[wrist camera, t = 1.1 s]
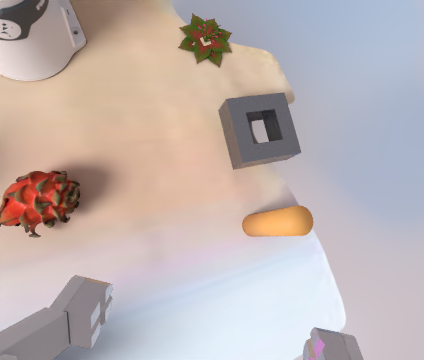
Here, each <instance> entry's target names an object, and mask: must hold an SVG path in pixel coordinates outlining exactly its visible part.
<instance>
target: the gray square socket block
mask: <svg viewBox="0 0 424 360" xmlns="http://www.w3.org/2000/svg"><path fill="white" fill-rule="evenodd" d="M218 111H219V115H220V119H221V123H222V127H223V131H224V135H225V139H226V143H227V147H228V151H229V155H230V159H231V163H232V167H233V170H234V169H239V168H244V167H250V166H255V165H260V164H266V163H271V162H276V161H281V160H287V159H289V158H291V157H293V156H295V155H297V154H299V153H301V150H300V146H299V143H298V139H297V136H296V132H295V129H294V125H293V122H292V118H291V115H290V111H289V108H288V104H287V101H286V97H285V93H276V94H267V95H258V96H249V97H239V98H230V99H226V100H225V102H224V103H223V105H222V106H221V108H220V109H219V110H218ZM262 119H263V121H264V124H265V128H266V132H267V136H268V139H269V142H265V143H258V144H254V142H253V139H252V135H251V131H250V127H249V123H248V121H255V120H262Z"/></svg>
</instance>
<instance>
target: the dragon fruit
mask: <svg viewBox="0 0 424 360" xmlns="http://www.w3.org/2000/svg"><path fill="white" fill-rule="evenodd" d="M16 181H17V183H14V184H12V185H11V186H10V187H9V188H8V189H7V190H6V191H5V193H4V195H3V202H2V205H1V207H0V227H1V224H3V225H5V226H13V225H14V226H19V225H20V224H21V226H24V228H25V231H26V233H27V232H29V231H31V232H32V233H33V234H31V235H29V237H41V236H39V235H38V234H36V232H35V227H36V226H37V224H39V223H41V222H43V224H44V225H45V226H47V227H49V228H51V227H53V226H54V225H55V223H54V221H55V220H56V219H58V220H59V221H60V222H64V223H67V222H68V221H69V220H70V217H69V218H66V215H65V213H72V212H73V211H74V209H75V208H77V207H78V205H79V202H78V201H77V199H78V198H79V197H80V191H79V189H77V187H78V185H79V183H78V182H76V181H75V180H67V173H66V171H61V172H60V171H51V172H50V173H44V172H41V171H33V172H30V173H28V174H27V175H25V176H21V177H18V178H17V179H16ZM79 186H80V185H79ZM29 225H30V227H28V226H29Z"/></svg>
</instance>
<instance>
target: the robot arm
mask: <svg viewBox="0 0 424 360" xmlns="http://www.w3.org/2000/svg"><path fill="white" fill-rule="evenodd" d="M74 33H78V34H74ZM85 44H86V38H85V36H84V33H83V31H82V29H81V26H80V24H79V22H78V19H77V17H76V15H75V12H74V10H73V8H72V5H71V3H70V1H69V0H0V74H1V75H3V76H5V77H8V78H11V79H15V80H21V81H36V80H42V79H45V78H48V77H51V76H53V75H55V74H56V73H58V72H59V71H61V70H62V69H63V68H64V67H65V66H66V65H67V63H68V62H69V60H70V58H71V57H72V55H73V54H74V53H75V52H76V51H78V50H79V49H81V48H82V47H83V46H84V45H85ZM112 290H113V284H111V283H107V282H103V281H98V280H94V279H90V278H86V277H82V276H77V275H75V276H74V277H72V278H71V279H70V281H69V282H68V283H67V285H66V286H65V287H64V289H63V290H62V291H61V293H60V294H59V295H58V297H57V298H56V299H55V301H54V302H53V303H52V305H51V306H50V308H43V309H42V310H40V311H38V312H36V313H34V314H32V315H30V316H29V317H27V318H25V319H23V320H21V321H19V322H17V323H16V324H14V325H12V326H10V327H8V328H6V329H4V330H3V331H1V332H0V360H53V359H54V358H55V357H56V356H58V355H59V354H60V353H61V352H63V351H64V350H65V349H67V348H68V347H69V345H74V346H79V347H84V348H89V349H92V347H93V346H94V344H95V342H96V340H97V338H98V336H99V334H100V326H101V325H102V324H104V323H105V322H106V320H107V318H108V316H109V313H110V310H111V306H112V297H111V295H110V294H111V292H112ZM310 335H311V338H310V339H308V340H306V343H305V345H304V350H303V360H363V357H362V355H361V352H360V349H359V346H358V344H357V341H356V338H355V337H354V336H352V335H347V334H343V333H339V332H335V331H330V330H325V329H320V328H313V329H312V331H311V333H310Z"/></svg>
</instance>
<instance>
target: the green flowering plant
mask: <svg viewBox="0 0 424 360" xmlns="http://www.w3.org/2000/svg"><path fill="white" fill-rule="evenodd" d="M218 27H219V26H218V25H217V23H216V22H215V19H211V20H206V22H205V21H204V20H202V19H201V18H199V17H198V16H195V15H194V14H192V19H191V25H187V26H184V27H183V28H182V27H180V29H181V30H182V31H183V32H184V33H185V34H186V35H187V36H188V37H186V38H185V39H184V40H183V41H182V43H181V45H180V46H179V47H178V48H181V49H185V50H188V51H193V52H195V57H196V59H197V63H199V62H200V61H202V60H203V59H205V58H206V57H207V58H208V59H209V60H210V61H212V62H213V63H214V64H216V65H217V66H218V67H219V68H220V61H221V52H231V50H230V48H229V47H228V44H227V42H226V41H227V40H228V39H229V37H230V35H231V34H232V33H230V32H228V31H225V30H223V29H219V28H218ZM204 36H206V38H205V37H204ZM201 37H203V39H204V41H206V43H207V40H208V39H210V40H208V41H211V43H212V44H210V45H207V46H203V44H202V42H201V40H200V38H201ZM193 42H197V43H195V45H192V44H193ZM211 49H212V50H213V54H211ZM231 53H232V52H231Z"/></svg>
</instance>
